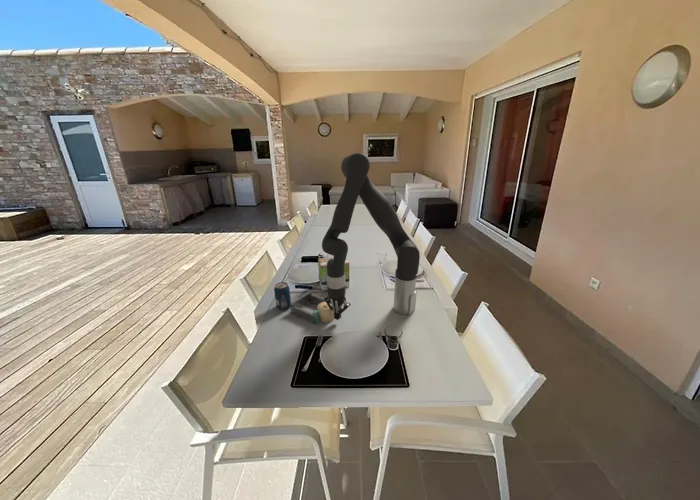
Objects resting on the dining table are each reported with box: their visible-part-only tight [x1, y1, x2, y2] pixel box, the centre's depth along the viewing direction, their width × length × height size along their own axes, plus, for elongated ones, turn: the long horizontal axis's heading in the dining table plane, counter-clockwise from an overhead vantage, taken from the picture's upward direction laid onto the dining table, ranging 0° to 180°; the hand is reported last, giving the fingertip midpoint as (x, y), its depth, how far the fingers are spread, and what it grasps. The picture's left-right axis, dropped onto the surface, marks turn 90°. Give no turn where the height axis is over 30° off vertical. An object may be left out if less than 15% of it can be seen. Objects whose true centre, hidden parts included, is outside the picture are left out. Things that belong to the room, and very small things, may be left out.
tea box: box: [317, 256, 350, 292], centre depth 153 cm, size 15×10×15 cm, turn 105°
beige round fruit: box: [317, 302, 336, 323], centre depth 127 cm, size 7×7×6 cm
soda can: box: [273, 281, 292, 311], centre depth 134 cm, size 7×7×12 cm
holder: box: [289, 291, 325, 326], centre depth 132 cm, size 16×13×6 cm
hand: (337, 318), depth 124 cm, fingers closed
